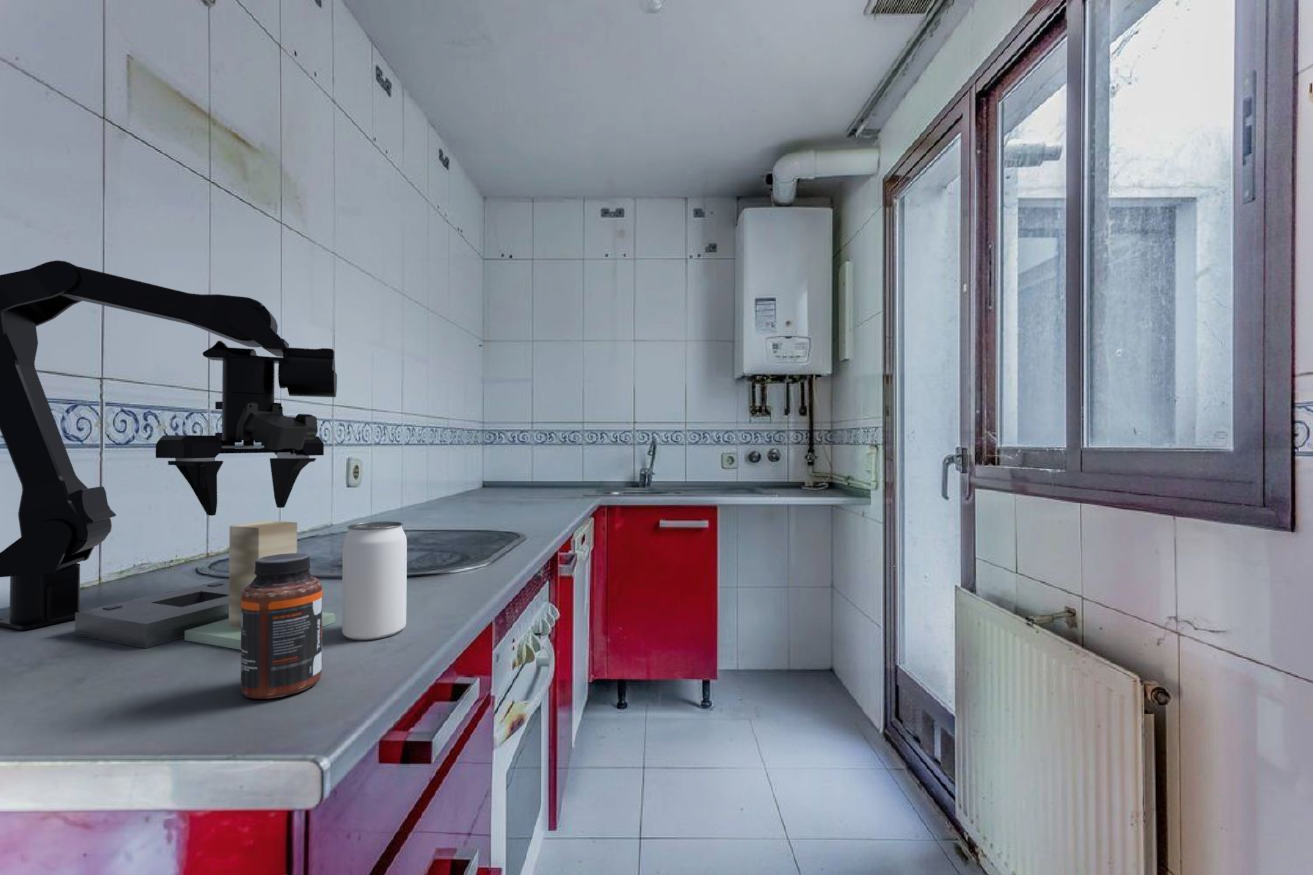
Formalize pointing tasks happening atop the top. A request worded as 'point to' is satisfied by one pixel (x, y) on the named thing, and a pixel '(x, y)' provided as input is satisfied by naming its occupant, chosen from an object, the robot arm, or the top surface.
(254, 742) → the top surface
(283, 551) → the peg
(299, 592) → the supplement bottle
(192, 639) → the pad
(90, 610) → the plate
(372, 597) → the can
